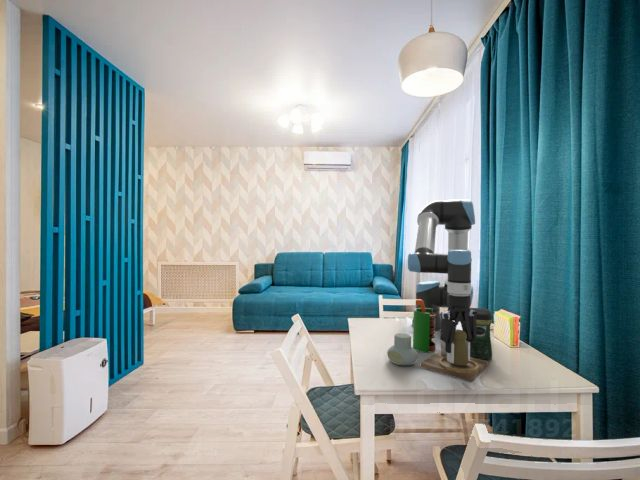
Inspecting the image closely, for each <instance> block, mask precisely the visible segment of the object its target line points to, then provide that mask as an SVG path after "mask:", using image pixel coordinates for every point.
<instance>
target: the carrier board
mask: <svg viewBox="0 0 640 480" xmlns="http://www.w3.org/2000/svg"><path fill="white" fill-rule="evenodd" d="M440 342H441V343H440V350H438V351H437V352H436V353H433V354H432V355H430V356H429V357H427V358H426V359H424V360H422V361H421V362H420V368H423V369H426V370H429V371H430V370H431V371H433V372H437V373H439V374H440V373H441V374H443V375H447V376H451V377H454V378H457V379H461V380H463V381H467V382H470V383H472V382H474V380H475V379H476V378H477V377H478V376H479V375H480V374H481V373H482V372H483V371H484V370H485V369H486V368H487V367H488V366H489V360H488V361H487V360H485V359H476V358H472V357H470V361H468V364H467V365H456V364H453V363H451V362H449V361H447V352H446V350H445V348H446V347H445V342H443V341H441V340H440Z"/></svg>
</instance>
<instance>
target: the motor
mask: <svg viewBox="0 0 640 480" xmlns="http://www.w3.org/2000/svg"><path fill="white" fill-rule="evenodd" d="M416 305H421V308H416V307H415V308H413V318H414V322H413V326H412V328H413V329H412V332H413V333H412V347H413V348H414V349H415V350H416V351H417V352H422V353H431V352H435V351H436V350H437V349H436V342H434V341H433V339H435V338H436V335H435V334H436V330H435V322H434V321H435V318H433V317H436V315H435V314H434V313H433V309H430V308H425V305H424V302H423V300H421V299H416V298H415V306H416Z"/></svg>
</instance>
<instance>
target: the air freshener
mask: <svg viewBox="0 0 640 480" xmlns="http://www.w3.org/2000/svg"><path fill="white" fill-rule="evenodd" d="M393 340H394V341H393V343H394V345H391V346H390V347H389V348H388V349H387V352H386V354H387V358H388V359H389V360H390V362H392V363H394V364H395V365H397V366H400V367H401V366H411V365H413V364H415V363H416V362H417V361H418V359H419V353H418V350H415V349H414V348H413V346H412V336H411V335H410V334H408V333H402V332H401V333H396V334H394V339H393Z"/></svg>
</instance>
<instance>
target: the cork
mask: <svg viewBox="0 0 640 480" xmlns="http://www.w3.org/2000/svg"><path fill="white" fill-rule="evenodd" d="M466 339H467V334H466V332H465V331H463V330H462V329H457V328H456V330H455V334H454V337H453V341H452V343H453V344H454V363H453V364H456V365H467V364H468V359H467V352H466V344H465V340H466Z"/></svg>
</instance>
